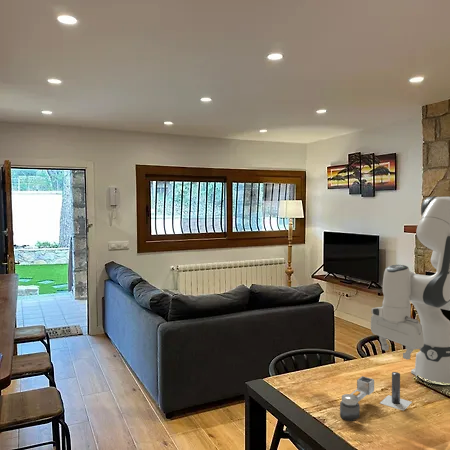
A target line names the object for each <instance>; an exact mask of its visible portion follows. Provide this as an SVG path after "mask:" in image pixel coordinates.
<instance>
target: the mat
mask: <svg viewBox="0 0 450 450" xmlns="http://www.w3.org/2000/svg"><path fill="white" fill-rule="evenodd" d="M412 403H413V401H410V400H406V399H403V398H400V404H393V403H392V395H390V394H388V395H386V397H384V398H383V400H381V401H380V402H379V404H381V405H384V406H387V407H391V408H394V409H396V410H400V411H403V412H404V411H405V410H406V409H407V408H408V407H409V406H410V405H411V404H412Z"/></svg>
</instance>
